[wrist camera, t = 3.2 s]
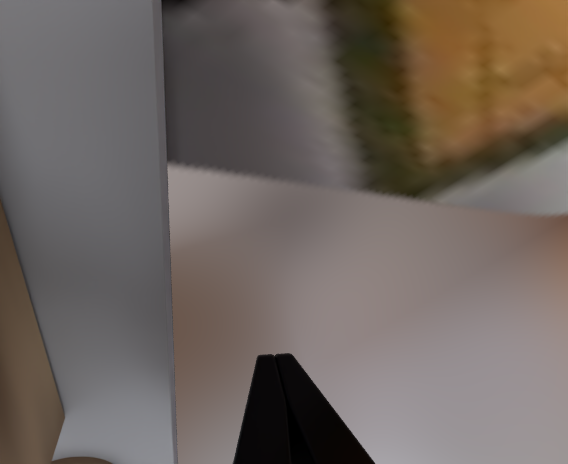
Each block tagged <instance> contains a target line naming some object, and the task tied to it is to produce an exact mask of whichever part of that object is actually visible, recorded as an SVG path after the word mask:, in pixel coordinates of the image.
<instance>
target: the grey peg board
mask: <svg viewBox="0 0 568 464" xmlns="http://www.w3.org/2000/svg"><path fill="white" fill-rule="evenodd" d="M0 199H1V203H2V206H3V210H4V213H5V216H6V220H7V223H8V226H9V230H10V233H11V237H12V240H13V243H14V247H15V250H16V253H17V257H18V260H19V264H20V267H21V270H22V274H23V277H24V280H25V284H26V287H27V291H28V294H29V297H30V301H31V304H32V307H33V311H34V314H35V318H36V321H37V324H38V328H39V331H40V334H41V338H42V341H43V345H44V348H45V351H46V355H47V358H48V362H49V365H50V368H51V372H52V375H53V378H54V382H55V385H56V389H57V392H58V395H59V399H60V402H61V405H62V409H63V412H64V416H65V420H64V423H63V426H62V429H61V433H60V436H59V439H58V442H57V446H56V449H55V452H54V455H53V459H52V462H51V464H178V457H177V430H176V401H175V374H174V345H173V320H172V319H173V316H172V288H171V259H170V233H169V232H170V231H169V203H168V176H167V146H166V118H165V90H164V61H163V33H162V5H161V0H0Z"/></svg>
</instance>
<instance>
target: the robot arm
mask: <svg viewBox="0 0 568 464" xmlns="http://www.w3.org/2000/svg"><path fill="white" fill-rule="evenodd" d="M233 464H375V463H374V461H373V460H372V459H371V457H370V456H369V455H368V454H367V452H366V451H365V449H364V448H363V447H362V445H361V444H360V443H359V442H358V440H357V439H356V438H355V436H354V435H353V434H352V432H351V431H350V430H349V428H348V427H347V426H346V425H345V423H344V422H343V420H342V419H341V418H340V417H339V415H338V414H337V413H336V411H335V410H334V409H333V407H332V406H331V405H330V404H329V402H328V401H327V400H326V398H325V397H324V396H323V394H322V393H321V392H320V390H319V389H318V388H317V386H316V385H315V384H314V383H313V381H312V380H311V378H310V377H309V376H308V375H307V373H306V372H305V371H304V369H303V368H302V367H301V365H300V364H299V363H298V362H297V360H296V359H295V358H294V356H293V355H292V354H289V353H285V354H276V355H275V356H274V355H272V354H268V355H259V356H258V357H257V360H256V365H255V369H254V374H253V378H252V382H251V387H250V391H249V395H248V400H247V404H246V409H245V413H244V417H243V422H242V426H241V431H240V435H239V439H238V444H237V448H236V453H235V457H234V461H233Z"/></svg>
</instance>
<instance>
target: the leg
mask: <svg viewBox="0 0 568 464" xmlns="http://www.w3.org/2000/svg"><path fill="white" fill-rule="evenodd" d="M64 420H65V416H64V412H63V409H62V405H61V402H60V399H59V395H58V392H57V389H56V385H55V382H54V378H53V375H52V372H51V368H50V365H49V362H48V358H47V355H46V351H45V348H44V345H43V341H42V338H41V334H40V331H39V328H38V324H37V321H36V318H35V314H34V311H33V307H32V304H31V301H30V297H29V294H28V291H27V287H26V284H25V280H24V277H23V274H22V270H21V267H20V264H19V260H18V257H17V253H16V250H15V247H14V243H13V240H12V237H11V233H10V230H9V226H8V223H7V220H6V216H5V213H4V210H3V206H2V203H1V199H0V464H51V462H52V459H53V455H54V452H55V449H56V446H57V442H58V439H59V436H60V433H61V429H62V426H63V423H64Z"/></svg>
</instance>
